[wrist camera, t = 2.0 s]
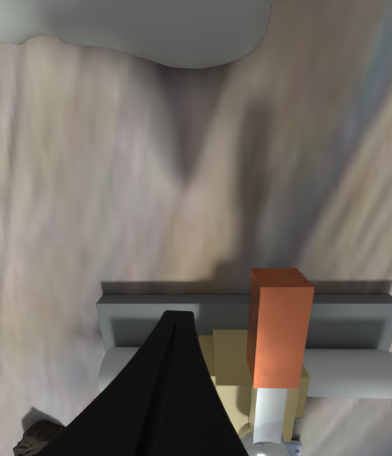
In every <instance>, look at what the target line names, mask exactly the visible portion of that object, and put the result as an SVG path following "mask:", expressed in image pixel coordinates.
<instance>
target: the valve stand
mask: <svg viewBox="0 0 392 456" xmlns="http://www.w3.org/2000/svg"><path fill="white" fill-rule="evenodd" d="M249 299H250V295H103V296H102V297H101V298H100V299H99V300H98V302H97V303H96V307H97V313H98V318H99V323H100V328H101V333H102V338H103V343H104V348H105V353H106V354H105V356H104V359H103V361H102V364H101V368H100V372H99V380H98V386H99V391H100V392H102V391H103V390H104V389H105V388H106V387H107V386H108V385H109V384H110V382H111V381H112V380H113V379H114V378H115V377H116V376H117V375H118V374H119V372H120V371H121V370H122V369H123V368H124V367H125V365H126V364H127V363H128V362H129V360H130V359H131V358H132V357H133V355H134V354H135V353H136V352H137V351H138V349H139V348H140V347H141V345H142V344H143V343H144V341H145V340H146V338H147V337H148V336H149V334H150V333H151V331H152V330H153V329H154V327H155V326H156V324H157V323H158V321H159V319H160V318H161V316H162V314H163V313H164V311H166V310H177V311H192V312H193V313H194V321H195V328H196V332H197V336H198V340H199V344H200V347H201V350H202V354H203V357H204V360H205V362H206V365H207V368H208V370H209V373H210V376H211V378H212V381H213V383H214V386H215V388H216V390H217V393H218V395H219V397H220V399H221V402H222V404H223V406H224V408H225V410H226V412H227V414H228V416H229V418H230V420H231V422H232V424H233V426H234V428H235V430H236V432H237V434H238V432H239V430H240V428H241V427H242V426H243V425H245V424H246V423H249V417H250V403H251V389H252V381H251V376H250V372H249V368H248V363H247V359H246V352H247V334H248V317H249ZM391 342H392V296H391V295H389V294H314V295H313V301H312V307H311V313H310V319H309V326H308V332H307V338H306V344H305V350H304V357H303V363H302V369H301V375H300V382H299V388H298V389H288V390H287V397H286V404H285V412H284V419H283V426H282V433H283V437H284V440H285V442H291V439H292V433H293V427H294V421H295V418H303V416H304V410H305V405H306V399H307V397H336V398H389V399H392V353H391V352H389V348H390V345H391Z"/></svg>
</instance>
